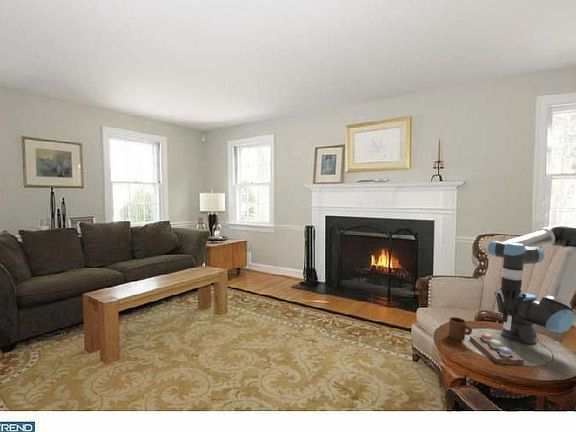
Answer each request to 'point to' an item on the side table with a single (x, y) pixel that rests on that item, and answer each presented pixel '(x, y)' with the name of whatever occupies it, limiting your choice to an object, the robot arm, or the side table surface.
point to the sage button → (495, 344)
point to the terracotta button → (486, 337)
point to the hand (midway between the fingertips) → (506, 328)
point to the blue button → (505, 352)
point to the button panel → (496, 351)
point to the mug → (458, 329)
